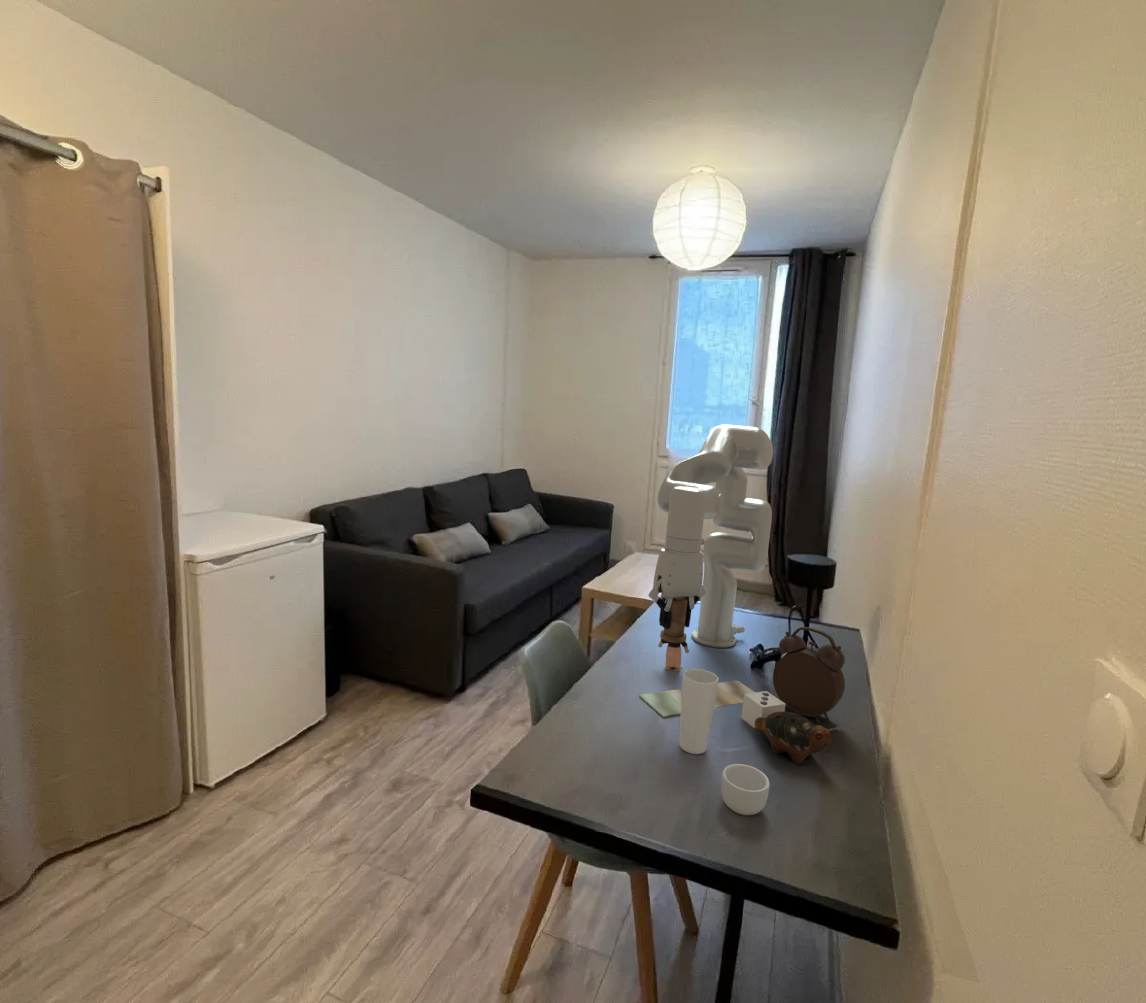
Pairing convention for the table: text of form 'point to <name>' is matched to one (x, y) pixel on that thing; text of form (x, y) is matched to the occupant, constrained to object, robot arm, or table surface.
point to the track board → (671, 700)
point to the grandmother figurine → (674, 654)
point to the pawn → (676, 621)
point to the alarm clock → (809, 675)
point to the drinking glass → (697, 709)
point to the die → (760, 706)
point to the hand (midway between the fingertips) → (674, 625)
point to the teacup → (744, 788)
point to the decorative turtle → (793, 734)
